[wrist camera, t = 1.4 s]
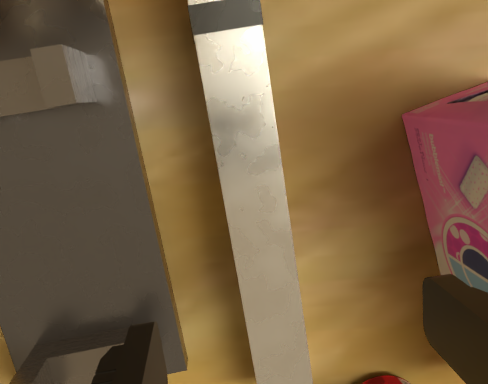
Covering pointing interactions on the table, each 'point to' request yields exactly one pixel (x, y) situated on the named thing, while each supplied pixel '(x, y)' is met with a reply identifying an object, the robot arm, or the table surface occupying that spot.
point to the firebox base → (73, 198)
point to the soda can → (386, 380)
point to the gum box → (454, 179)
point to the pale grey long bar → (252, 184)
